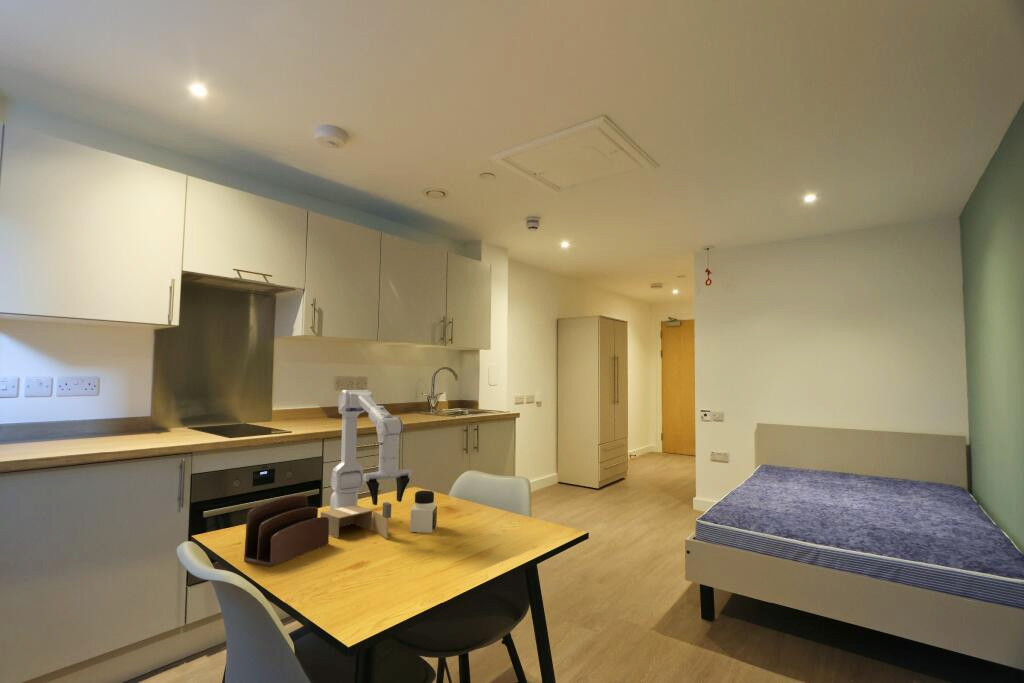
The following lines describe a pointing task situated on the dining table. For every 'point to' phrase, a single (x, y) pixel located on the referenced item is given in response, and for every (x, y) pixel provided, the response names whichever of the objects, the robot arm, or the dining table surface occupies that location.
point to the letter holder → (283, 531)
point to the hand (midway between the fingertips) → (387, 502)
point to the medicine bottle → (423, 513)
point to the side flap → (382, 520)
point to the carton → (348, 518)
